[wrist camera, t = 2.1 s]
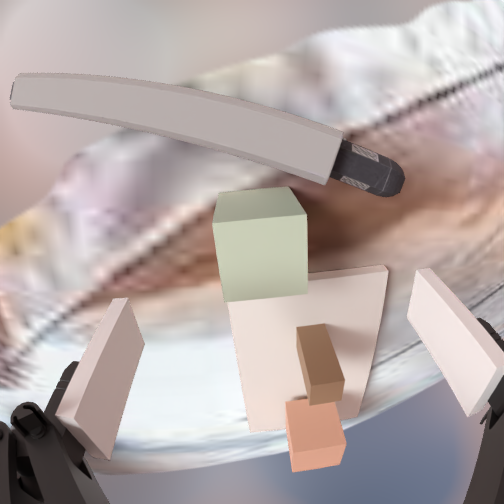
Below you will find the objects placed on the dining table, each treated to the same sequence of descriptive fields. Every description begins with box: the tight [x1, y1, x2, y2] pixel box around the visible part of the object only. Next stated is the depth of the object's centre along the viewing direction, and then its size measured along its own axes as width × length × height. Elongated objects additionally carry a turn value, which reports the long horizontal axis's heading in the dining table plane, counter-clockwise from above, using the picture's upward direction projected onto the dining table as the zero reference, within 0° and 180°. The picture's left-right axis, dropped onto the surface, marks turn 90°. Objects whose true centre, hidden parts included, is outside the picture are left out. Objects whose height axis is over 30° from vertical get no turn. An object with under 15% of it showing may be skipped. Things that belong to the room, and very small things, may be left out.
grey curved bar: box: [10, 73, 405, 197], centre depth 17 cm, size 2×25×10 cm, turn 74°
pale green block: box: [212, 186, 308, 302], centre depth 21 cm, size 5×5×7 cm
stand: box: [227, 265, 388, 472], centre depth 27 cm, size 14×22×9 cm, turn 5°
